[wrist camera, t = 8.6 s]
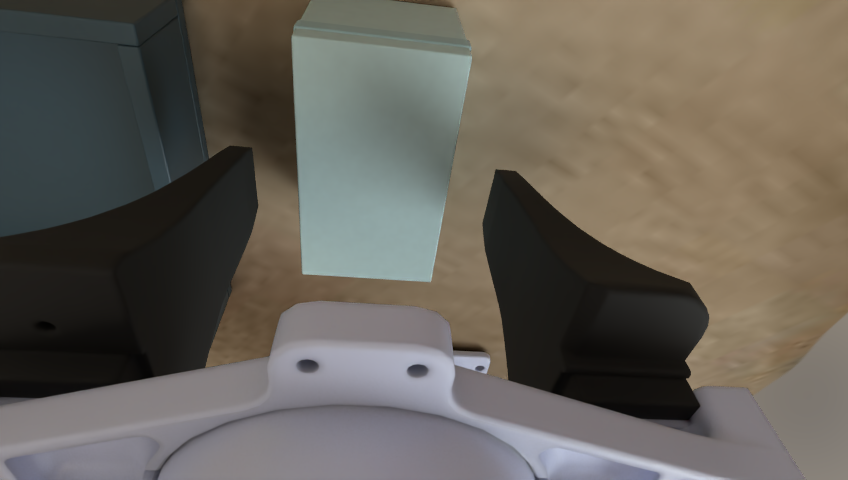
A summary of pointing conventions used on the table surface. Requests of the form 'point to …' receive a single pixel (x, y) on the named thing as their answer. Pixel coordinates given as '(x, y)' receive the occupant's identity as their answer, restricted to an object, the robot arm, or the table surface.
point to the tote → (93, 108)
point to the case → (375, 133)
